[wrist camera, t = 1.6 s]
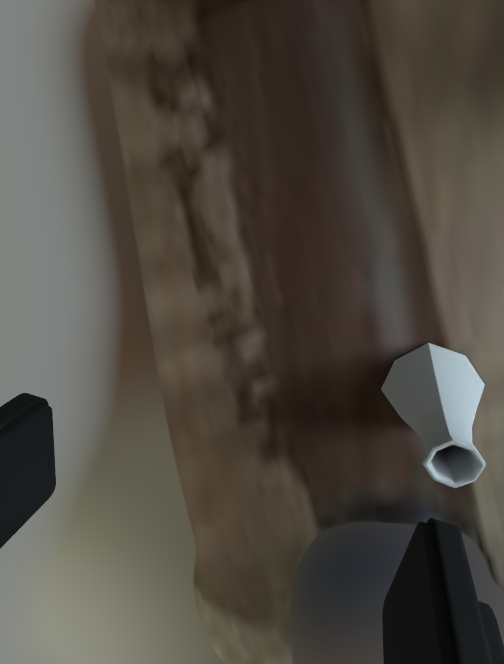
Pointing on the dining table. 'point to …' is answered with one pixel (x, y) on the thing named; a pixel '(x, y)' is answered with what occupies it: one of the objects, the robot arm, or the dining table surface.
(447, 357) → the flask
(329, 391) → the dining table surface
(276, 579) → the dining table surface
